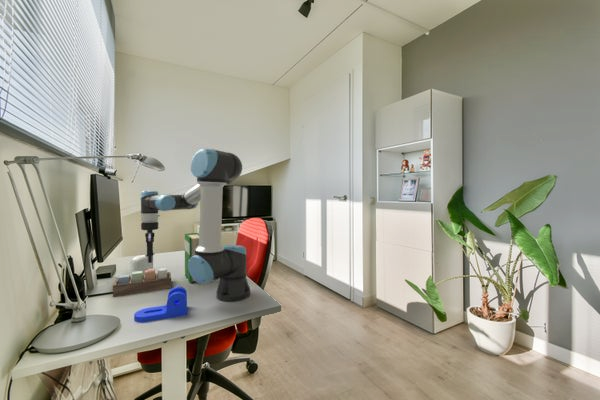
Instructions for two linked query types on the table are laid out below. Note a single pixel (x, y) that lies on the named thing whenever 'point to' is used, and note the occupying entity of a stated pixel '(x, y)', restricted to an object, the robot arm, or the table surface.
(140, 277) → the light green cube
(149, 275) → the peach cube
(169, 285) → the wooden compartment tray
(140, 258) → the photo printer
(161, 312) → the bracket
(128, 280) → the light blue cube
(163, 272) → the white cube
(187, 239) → the hardback book
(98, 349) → the table surface
